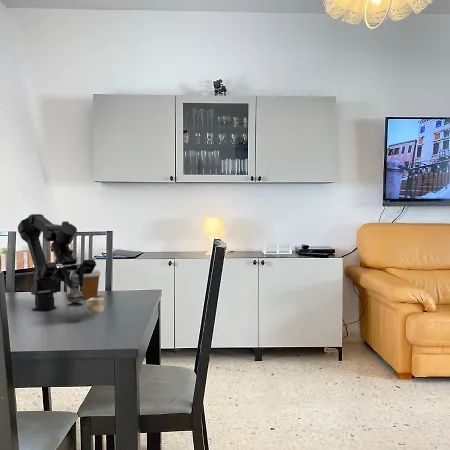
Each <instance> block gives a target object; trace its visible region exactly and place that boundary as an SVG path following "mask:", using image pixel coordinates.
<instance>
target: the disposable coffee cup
mask: <svg viewBox="0 0 450 450" xmlns="http://www.w3.org/2000/svg"><path fill="white" fill-rule="evenodd" d="M100 276H101V272H100V269H99V270H98V269H94V270H93V272H92V273H91V274H84V275H83V286H82V287H80V290H81V291H80V293H81V294H83V298H82V300H88V299H90V298H98V292H99V283H100Z"/></svg>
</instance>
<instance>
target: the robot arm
mask: <svg viewBox="0 0 450 450" xmlns="http://www.w3.org/2000/svg"><path fill="white" fill-rule="evenodd" d="M17 232H18V234H19V236H20V239H21V240H23V241H24V242H25V243H26V244H27V246H28V250H29V253H30V257H31V260H32V263H33V266H34V270H35V275H34V278H33V282H32V285H31V288H30V293H31V295H33V296H34V306H35V307H33V308H32V311H44V312H47V311H50V310H54V309H57V306H56V305H55V297H54V294H57V293H58V290H59V289H58V288H59V283H60V282H63V283H64V285H66V286H67V287H68V288H69V289H70V288H72V283H71V280H70V277H71V275H72V272H74V271H75V272H76V273H75V274H77V275H79V284H80V285H79V288H81V287H82V286H83V275H84V274H91V273H92V272H93V270H95V267H96V266H97V262H96V261H95V259H93V258H91V259H84V260H83V261H82V262H81V264H80V263H77V261H78V260H77V258H74V255H73V254H74V250H73V249H71V248H70V245H71V244H72V243H73V240H74V239H75V236H76V235H77V232H78V229H77V227H76V226H75V225H74V224H72V223H69V221H62V222H61V224H56V223H55V224H54V223H52V221H50V220H48V219H47V218H46V217H44V214H41V213H40V214H39V213H33V214H29V215H28V217H27V218H24V219H22V220H21V221H20V222H19V224H18V225H17ZM41 233H43V234H42V237H43V238H44V240H45V241H46V242H48V243H49V242H52V243H51V246H50V252H52V253H54V256H55V260H54V261H53V262H52V261H51V262H47V259H46V256H45V253H44V250H43V247H42V246H43V245H42V243H41V240H40V236H41Z"/></svg>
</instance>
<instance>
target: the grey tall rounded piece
mask: <svg viewBox="0 0 450 450" xmlns="http://www.w3.org/2000/svg"><path fill="white" fill-rule="evenodd" d="M70 280H71V283H72V288H69V289H70V290H69V292H68V294H66V295H65V296H66V299H67V301H68V304H66V306H67V307H69V308H70V307H71V308H77V307H81V306H83V305H84V304H83V303H82V302H81V301H82V300H83V299H82V298H83V294H82V292H81V291H80V290H81V289H80V284H79V275H77V274H76V272H75V271H73V274H72V273H71V274H70Z"/></svg>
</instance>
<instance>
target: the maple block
mask: <svg viewBox="0 0 450 450" xmlns="http://www.w3.org/2000/svg"><path fill="white" fill-rule="evenodd" d="M104 311H105V298H104V297H97V298H90V299H86V312H87V313H86V314H101V313H102V312H104Z"/></svg>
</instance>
